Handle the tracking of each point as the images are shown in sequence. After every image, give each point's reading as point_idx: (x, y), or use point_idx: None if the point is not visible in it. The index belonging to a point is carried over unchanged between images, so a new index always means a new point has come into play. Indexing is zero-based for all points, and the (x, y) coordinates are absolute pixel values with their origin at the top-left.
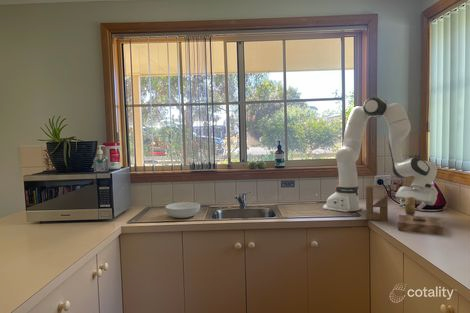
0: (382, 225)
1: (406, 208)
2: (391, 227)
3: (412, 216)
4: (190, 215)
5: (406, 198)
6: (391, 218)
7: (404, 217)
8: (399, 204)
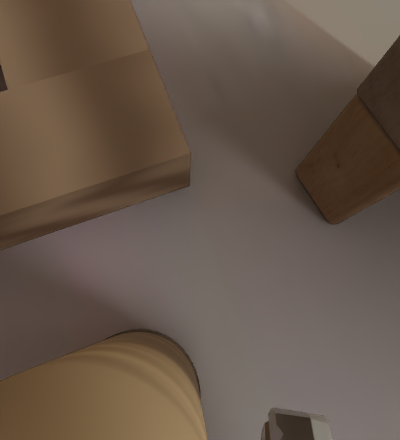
0: (250, 14)
1: (165, 346)
2: (172, 4)
3: (36, 170)
4: None
5: (146, 376)
6: (314, 289)
7: (96, 72)
8: (329, 427)
